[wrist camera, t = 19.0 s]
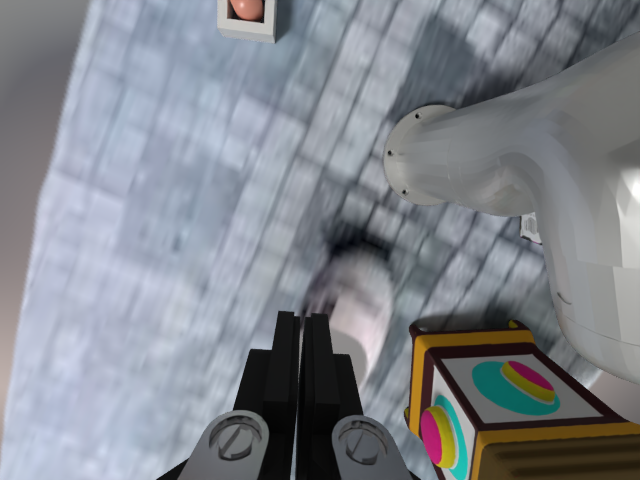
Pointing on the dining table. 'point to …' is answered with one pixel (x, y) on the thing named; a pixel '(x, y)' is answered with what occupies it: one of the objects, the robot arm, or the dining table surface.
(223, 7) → the button housing
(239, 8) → the button
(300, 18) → the dining table surface
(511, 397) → the decorative lantern
